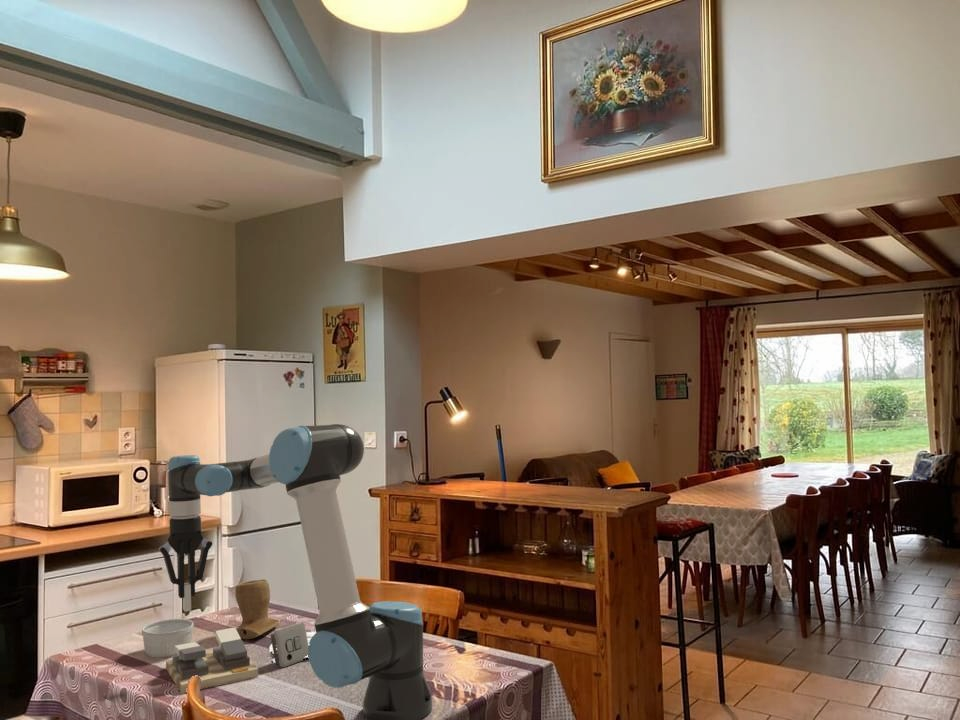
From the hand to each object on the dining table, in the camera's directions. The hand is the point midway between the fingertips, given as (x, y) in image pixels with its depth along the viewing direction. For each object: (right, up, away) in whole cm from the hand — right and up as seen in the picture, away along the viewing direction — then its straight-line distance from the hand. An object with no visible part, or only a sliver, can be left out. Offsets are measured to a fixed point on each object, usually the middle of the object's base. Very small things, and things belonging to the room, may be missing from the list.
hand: (187, 609), depth 198 cm
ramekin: (-11, -17, +16) cm, 26 cm away
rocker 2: (+11, -10, +2) cm, 15 cm away
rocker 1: (+2, -10, -3) cm, 11 cm away
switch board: (+6, -16, -1) cm, 17 cm away
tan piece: (+8, -17, +31) cm, 36 cm away
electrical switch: (+25, -16, +6) cm, 30 cm away
